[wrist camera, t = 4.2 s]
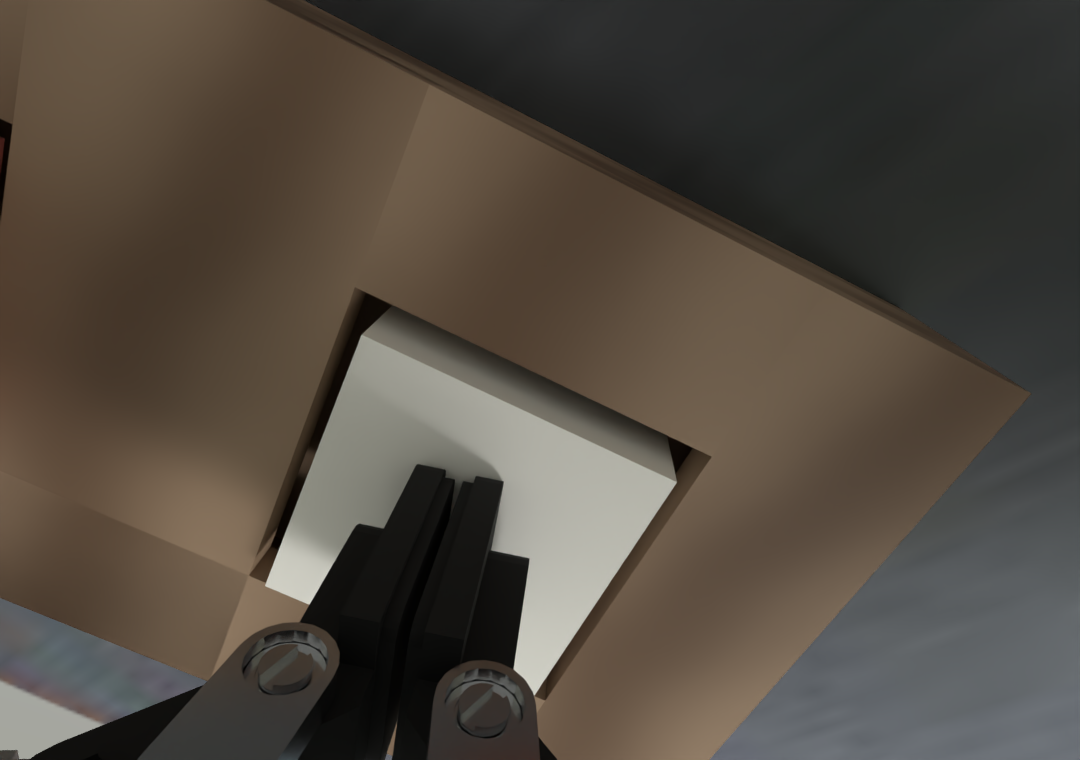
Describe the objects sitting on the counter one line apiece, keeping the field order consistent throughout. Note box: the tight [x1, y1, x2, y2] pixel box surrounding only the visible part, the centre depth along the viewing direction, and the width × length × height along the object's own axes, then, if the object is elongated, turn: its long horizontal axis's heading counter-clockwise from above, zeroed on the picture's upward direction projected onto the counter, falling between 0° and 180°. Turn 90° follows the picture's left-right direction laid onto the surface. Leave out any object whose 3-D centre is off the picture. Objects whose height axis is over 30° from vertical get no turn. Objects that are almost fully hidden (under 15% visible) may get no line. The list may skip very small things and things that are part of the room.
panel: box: [0, 0, 1031, 760], centre depth 14 cm, size 28×14×5 cm, turn 64°
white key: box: [265, 306, 677, 695], centre depth 14 cm, size 6×6×3 cm
